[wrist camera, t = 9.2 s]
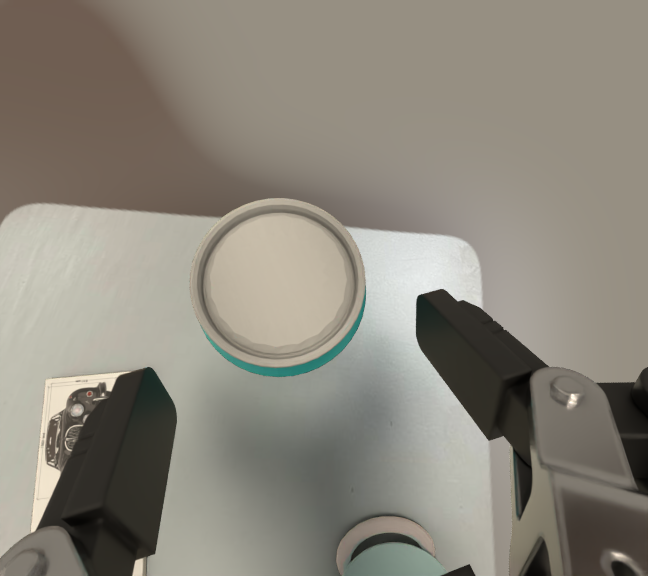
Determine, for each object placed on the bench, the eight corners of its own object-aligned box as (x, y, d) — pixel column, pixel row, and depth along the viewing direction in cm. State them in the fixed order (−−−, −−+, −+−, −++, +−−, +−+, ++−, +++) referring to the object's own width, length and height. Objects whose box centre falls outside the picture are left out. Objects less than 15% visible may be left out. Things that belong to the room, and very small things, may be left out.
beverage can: (262, 286, 25) (206, 172, 10) (335, 300, 25) (386, 206, 10) (245, 362, 23) (151, 359, 9) (323, 376, 23) (362, 395, 9)
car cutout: (144, 627, 19) (98, 704, 15) (24, 647, 19) (-60, 733, 14) (152, 369, 23) (116, 370, 18) (50, 378, 22) (-11, 382, 18)
